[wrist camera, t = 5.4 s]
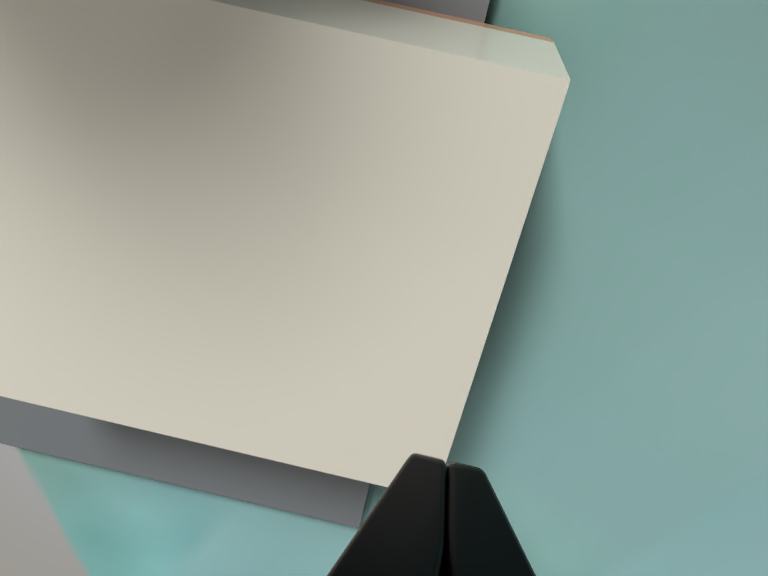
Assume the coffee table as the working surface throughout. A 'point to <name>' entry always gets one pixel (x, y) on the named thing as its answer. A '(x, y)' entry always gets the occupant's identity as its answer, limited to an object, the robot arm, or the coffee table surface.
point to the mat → (192, 459)
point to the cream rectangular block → (263, 217)
